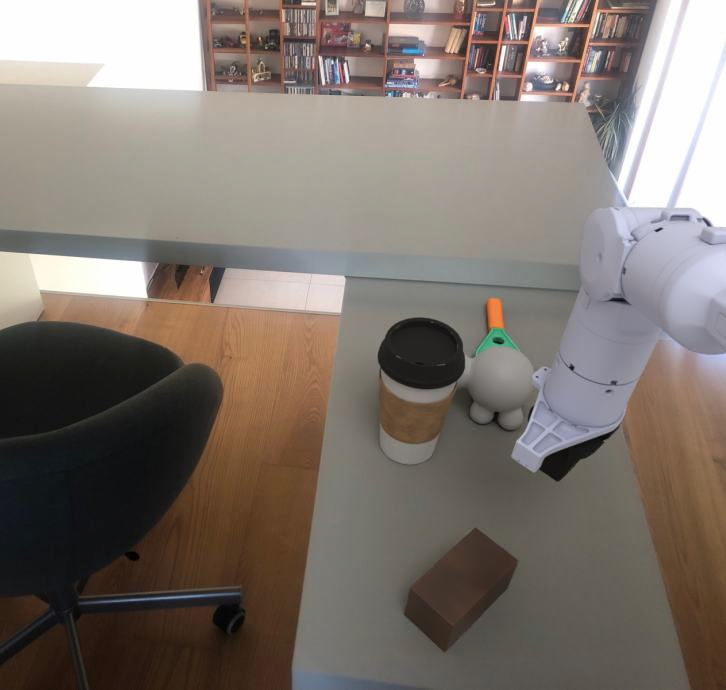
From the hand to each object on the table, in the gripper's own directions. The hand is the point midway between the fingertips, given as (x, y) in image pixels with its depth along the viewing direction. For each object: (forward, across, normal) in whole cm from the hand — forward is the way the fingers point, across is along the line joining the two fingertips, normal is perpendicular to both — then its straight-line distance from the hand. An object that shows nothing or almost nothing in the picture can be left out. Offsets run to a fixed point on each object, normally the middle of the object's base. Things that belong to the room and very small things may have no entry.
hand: (551, 470), depth 59 cm
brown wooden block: (+8, +6, 0) cm, 10 cm away
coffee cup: (+11, -1, -15) cm, 19 cm away
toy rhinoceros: (+12, -11, -14) cm, 21 cm away
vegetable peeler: (+12, -22, -18) cm, 31 cm away
